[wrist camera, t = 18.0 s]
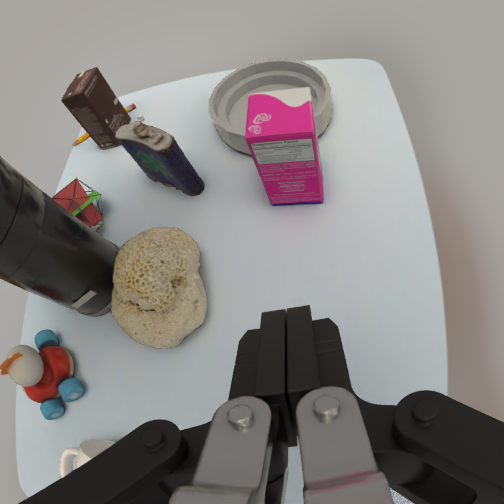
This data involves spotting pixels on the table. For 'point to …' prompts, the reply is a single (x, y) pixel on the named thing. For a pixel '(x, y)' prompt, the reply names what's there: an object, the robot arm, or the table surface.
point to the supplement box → (285, 145)
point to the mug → (82, 454)
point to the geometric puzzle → (80, 203)
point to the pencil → (89, 135)
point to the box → (96, 107)
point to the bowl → (264, 80)
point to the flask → (159, 157)
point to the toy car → (44, 373)
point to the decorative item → (158, 287)
